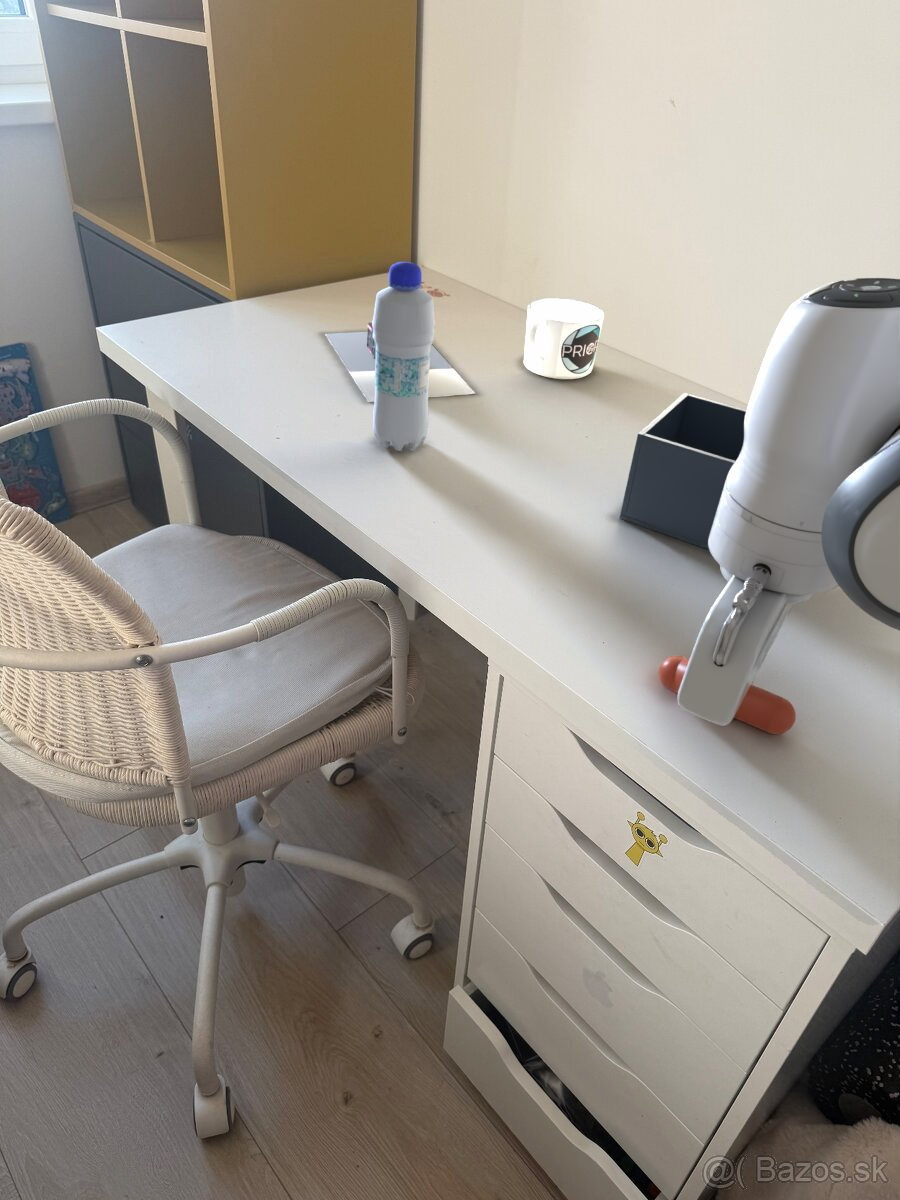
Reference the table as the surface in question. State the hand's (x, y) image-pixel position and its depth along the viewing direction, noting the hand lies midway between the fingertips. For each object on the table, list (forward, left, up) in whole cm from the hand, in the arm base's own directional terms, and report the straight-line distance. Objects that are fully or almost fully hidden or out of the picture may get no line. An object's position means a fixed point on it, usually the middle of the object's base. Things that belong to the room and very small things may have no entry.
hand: (726, 690), depth 62 cm
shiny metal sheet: (+60, -41, -2) cm, 73 cm away
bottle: (+45, -21, -2) cm, 50 cm away
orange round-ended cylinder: (0, 0, -2) cm, 2 cm away
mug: (+42, -54, -2) cm, 68 cm away
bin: (+11, -28, -2) cm, 30 cm away
